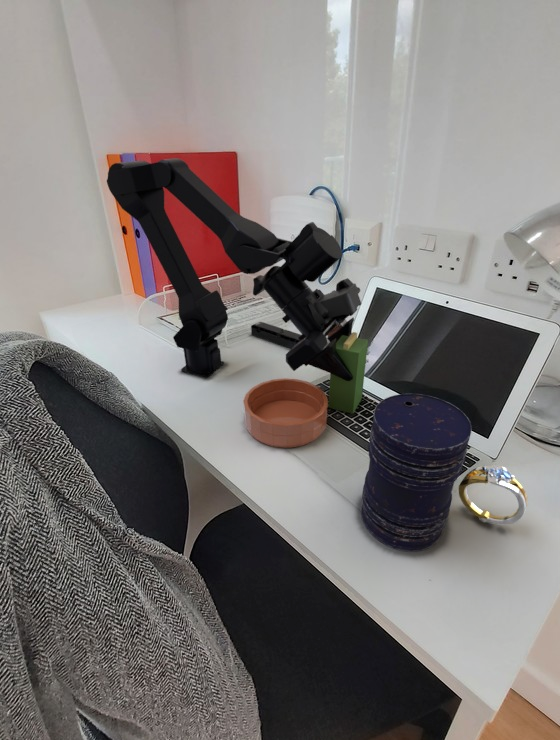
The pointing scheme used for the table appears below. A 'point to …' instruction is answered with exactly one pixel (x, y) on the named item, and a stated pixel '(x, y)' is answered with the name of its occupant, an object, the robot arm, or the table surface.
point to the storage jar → (413, 469)
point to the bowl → (285, 412)
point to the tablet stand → (275, 334)
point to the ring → (496, 477)
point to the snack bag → (354, 357)
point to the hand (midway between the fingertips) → (356, 372)
